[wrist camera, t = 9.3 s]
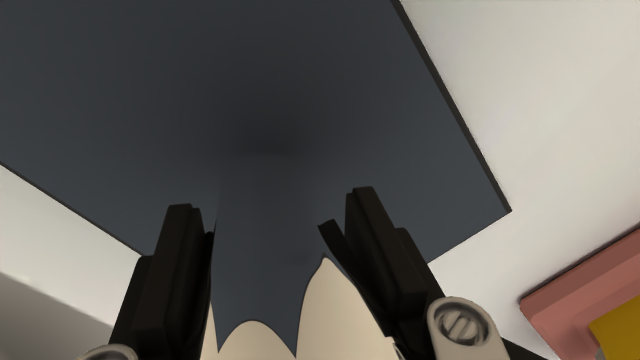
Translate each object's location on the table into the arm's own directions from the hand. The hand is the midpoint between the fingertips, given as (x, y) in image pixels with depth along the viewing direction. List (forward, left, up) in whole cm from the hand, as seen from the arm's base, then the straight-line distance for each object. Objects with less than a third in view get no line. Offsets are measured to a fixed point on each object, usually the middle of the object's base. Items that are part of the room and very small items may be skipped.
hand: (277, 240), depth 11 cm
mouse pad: (0, 0, -5) cm, 5 cm away
